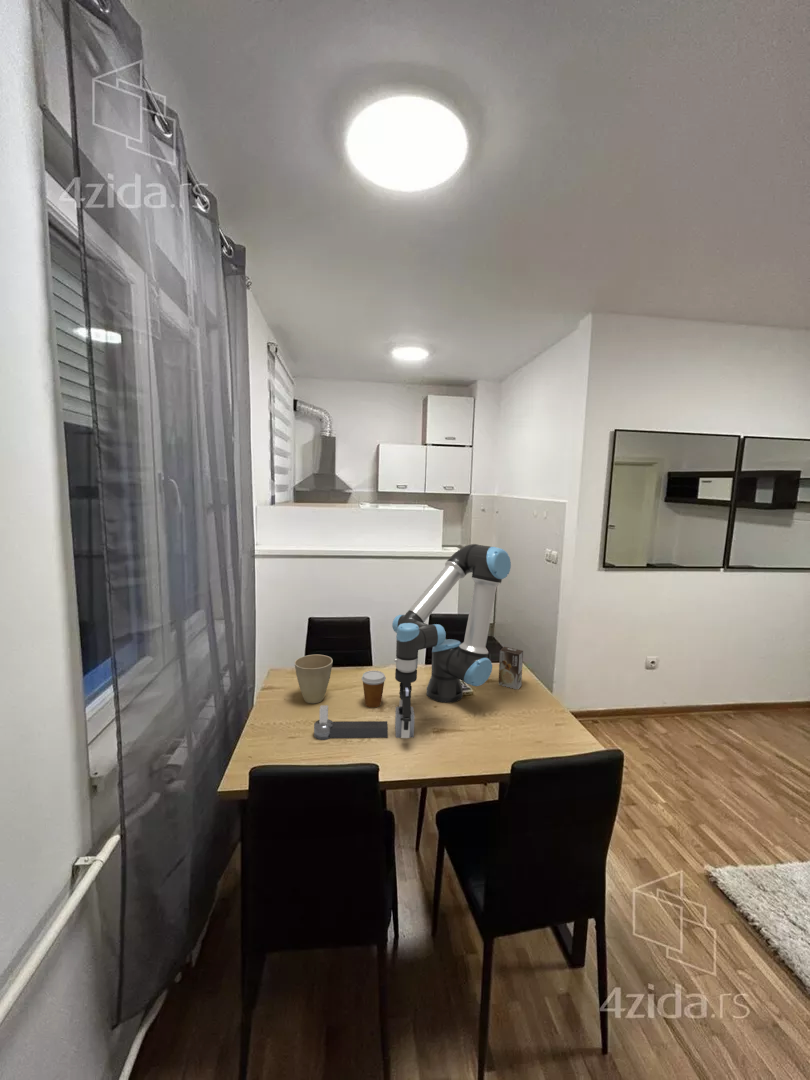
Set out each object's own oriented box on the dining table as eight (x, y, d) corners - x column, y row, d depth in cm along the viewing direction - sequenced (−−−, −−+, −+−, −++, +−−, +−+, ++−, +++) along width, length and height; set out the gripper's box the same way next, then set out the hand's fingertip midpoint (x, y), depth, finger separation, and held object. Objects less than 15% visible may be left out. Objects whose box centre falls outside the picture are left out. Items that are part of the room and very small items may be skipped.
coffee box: (522, 685, 195) (524, 650, 194) (517, 690, 190) (520, 654, 188) (502, 680, 200) (504, 646, 198) (497, 685, 195) (499, 650, 193)
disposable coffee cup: (381, 711, 168) (382, 681, 167) (357, 708, 170) (358, 678, 169) (387, 699, 177) (388, 671, 176) (364, 697, 179) (365, 668, 178)
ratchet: (386, 729, 155) (387, 702, 154) (387, 739, 149) (388, 711, 148) (315, 729, 154) (315, 702, 153) (312, 740, 147) (313, 711, 146)
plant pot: (326, 688, 186) (327, 652, 184) (336, 704, 172) (337, 665, 171) (290, 694, 179) (291, 657, 178) (298, 711, 166) (298, 671, 164)
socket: (412, 727, 157) (412, 706, 156) (413, 737, 151) (414, 715, 150) (394, 727, 157) (395, 706, 156) (395, 737, 150) (396, 715, 150)
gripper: (393, 655, 163) (391, 709, 165) (397, 684, 139) (394, 747, 141) (413, 655, 164) (411, 709, 166) (420, 684, 139) (418, 747, 141)
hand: (403, 726), depth 153 cm, fingers open, 13 cm apart
